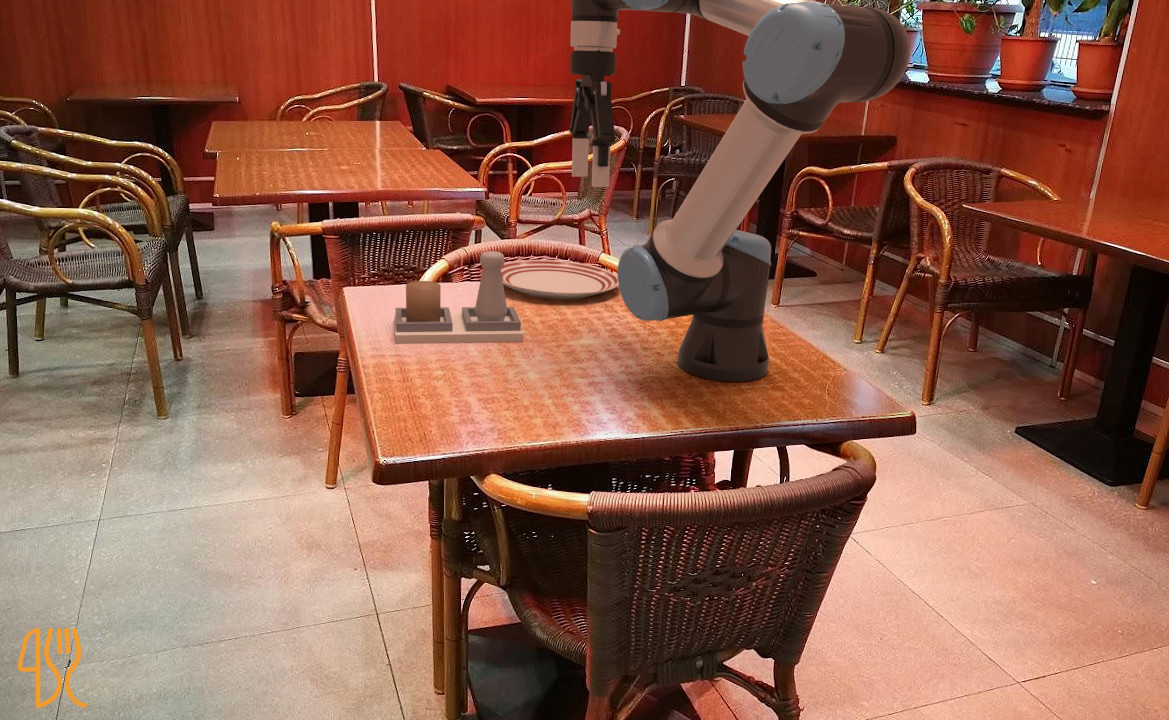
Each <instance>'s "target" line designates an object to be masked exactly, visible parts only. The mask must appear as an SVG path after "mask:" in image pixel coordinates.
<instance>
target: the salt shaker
mask: <svg viewBox="0 0 1169 720" xmlns="http://www.w3.org/2000/svg"><path fill="white" fill-rule="evenodd" d="M505 259H506V258H505V255H504V254H503V253H502V252H499V251H495V250H491V251H490V250H489V251H483V252H482V253H481V254H480V257H479V264H480V266H481V267H482V271H481V276H480V282H479V286H478V287H479V288H478V291H477V298H476V302H475V306H474V307H475V313H476V316H477V318H478V321H504V319H505V316H506V314H507V307H508V306H507V300H506V293H505V289H504V285H503V281H502V275H501V267H502V266H503V265H504V263H505Z"/></svg>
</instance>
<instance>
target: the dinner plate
mask: <svg viewBox="0 0 1169 720" xmlns="http://www.w3.org/2000/svg"><path fill="white" fill-rule="evenodd" d="M501 275H502V281H503V286H505V287H508V288H509V289H512V290H514V291H517V292H519V293H521V294H523V295H527V296H530V297H534V298H539V297H540V299H548V300H578V299H584V298H588V297H591V296H596V295H600V294H602V293H605V292H608V291H611V290H613V289H616V288H617V287H619V282H618V274H615V273H614V272H611V271H609V270H608V269H604V268H602V267H599V266H595V265H590V264H586V263H581V262H575V261H566V260H557V259H556V260H555V259H553V260H552V259H526V260H524V259H523V260H513V261H508V262H504V265H503V266H502V267H501Z"/></svg>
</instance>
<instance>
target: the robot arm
mask: <svg viewBox="0 0 1169 720" xmlns="http://www.w3.org/2000/svg"><path fill="white" fill-rule="evenodd" d="M619 11H644V12H645V11H646V12H658V13H659V12H660V13H679V14H685V15H686V14H688V15H692V16H696V17H699V18H701V19H703V20H706V21H710V22H712V23H715V24H718V25H719V26H722V27H724V28H727V29H730V30H733V31H736V32H737V33H740V34H742V35H745V36H747V37H748V38H747V39H746V42H745V45H744V49H743V55H745V56H746V59H745V61H743V62H742V70H743V71H742V72H743V77H744V80H743V82H742V89H743V93H744V97H745V100H744V102H743V104H742V105H741V107H740V108H739V110H738V111H737V113H736V115H735V117H734V118H733V120H732V122H731V124H730V125H729V127H728V129H726V132H725V134H724V135H723V136H722V138H721V140H720V142H719V143H718V144H717V145H716V148H715V150H714V151H713V152H712V154H711V156H710V158H709V160H708V161H707V162H706V164H705V165H704V168H703V169H702V171H701V173H700V174H699V176H698V177H697V179H696V181H695V183H693V186H692V187H691V189H690V190H689V191H688V194H687V195H686V197H685V198H684V200H683V202H682V204H681V205H680V207H679V208H678V209H677V211H676V213H675V215H674V216H673V218H672V219H666V220H663V221H661V222H659V223H658V224H657V226H656V227H655V228H654V230H653V232H652V233H651V235H650V237H649V238H648V240H647V241H646V243H644V244H643V245H639V244H637V245H636V244H635V245H633V246H631V247H628V248H627V249H625V250H624V251H623V252H622V254H621V256H620V258H619V261H618V265H617V276H618V282H619V285H618V288H619V293H620V295H621V299H622V301H623V303H624V304H625V307H626V308H627V309H628V311H629V312H630V313H631V314H632V315H633V316H634V317H635V318H637V319H638V320H642V321H644V322H653V321H658V322H663V321H665V320H669V319H670V320H671V319H675V318H680V317H687V316H692V318H691V322H690V323H689V326H688V328H687V330H686V333H685V335H684V337H683V338H682V339H683V340H682V342H681V343H680V346H679V349H678V357H677V364H678V366H679V367H680V368H681V369H682V370H684V371H686V372H687V373H690V374H691V375H695V376H697V377H701V378H704V379H709V380H712V381H713V380H714V381H721V382H723V381H724V382H747V381H754V380H758V379H760V378H763V377H765V376H766V375H767V373H768V372H769V364H770V363H769V362H770V357H769V356H770V355H769V351H768V346H767V342H766V337H765V332H764V326H763V324H764V316H765V308H766V301H767V295H768V287H769V286H768V285H769V277H770V271H771V266H772V262H771V255H772V245H771V242H769V240H768V239H767V238H765V237H764V236H762V235H759V234H756V233H752V232H747V231H743V230H739V229H737V228H738V227H739V225H740V224H741V223H742V222H743V220H744V219H745V218H746V216H747V214H748V213H749V212H750V210H751V208H752V207H753V206H754V204H755V203H756V201H757V199H758V198H760V197H759V196H760V195H761V194H762V193H763V191H764V189H765V188H766V187H767V185H768V183H770V181H771V180H772V178H773V176H774V175H775V173H776V172H777V171H778V169H779V168H780V166H781V165H782V163H783V162H784V161H785V159H786V157H787V156H788V154H789V153H790V152H791V150H793V147H794V146H795V144H796V143H797V142H798V140H799V139H800V137H801V135H805V134H812V133H813V134H814V133H816V132H817V131H818V130H820V129H821V127H822V126H823V124H824V123H825V121H826V120H827V119H828V118H829V116H830V114H831V113H832V112H833V110H834V109H835V108H836V106H837V105H838V104H839V103H866V102H869V101H873V100H876V99H878V98H881V97H882V96H884V95H886V94H887V93H888V92H890V91H892V89H894V88H895V87H896V86H897V84H899V82H901V79H902V78H903V77H904V74H905V72H906V70H907V67H908V66H909V65H908V64H909V61H910V57H911V45H910V38H909V36H908V32H907V29H905V27H904V25H903V23H902V22H901V21H900V20H899V19H898V18H897V17H896V16H895V15H893V14H892V13H890V12H887V11H885V10H883V9H880V8H877V7H876V8H875V7H869V6H859V5H856V4H853V3H846V4H843V5H840V4H839V5H837V4H827V3H825V2H824V3H823V2H821V1H817V0H571V21H570V45H569V46H570V47H572V48H573V50H572V51H571V53H570V57H569V58H570V61H569V62H570V63H569V65H570V66H569V67H570V69H569V72H570V74H571V75H576V76H577V75H578V76H580V75H581V79H575V81H574V95H573V103H572V111H571V115H570V117H571V118H570V124H569V131H568V132H569V133H570V134H571V137H572V149H571V151H572V154H571V157H572V158H571V159H572V160H571V177H573V178H575V177H578V178H579V177H580V178H581V177H584V178H585V177H589V173H588V172H589V149H590V148H589V145H590V146H591V147H592V168H591V170H592V171H591V187H592V188H610V171H611V170H610V168H611V165H610V164H611V146H612V145H613V144H614V143H615V142H616V132H615V124H614V123H615V122H614V114H613V113H614V112H613V102H612V100H613V99H612V82H611V81H605V76H610V77H611V76H615V74H616V72H617V54H616V52H613V51H614V49H616V48H617V45H618V43H617V40H618V36H619V35H620V34H621V30H620V29H619V28H618V21H619ZM590 125H591V126H592V133H593V138H594V139H592V141H591V143H590V142H589V141H590V139H589V138H592V135H591V132H590V131H589V129H590Z"/></svg>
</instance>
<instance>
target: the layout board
mask: <svg viewBox="0 0 1169 720" xmlns="http://www.w3.org/2000/svg"><path fill="white" fill-rule="evenodd" d="M393 319H394V334H395V335H394V336H395V337H394V339H395V344H398V345H399V344H449V343H453V344H454V343H458V344H459V343H461V344H462V343H515V342H516V343H517V342H518V343H520V342H521V343H523V341H524V333H523V331H522V330H523V329H522V327H521V326H522V322H521V320H520V317H519V315H518V313H517V310H516V309H515V306H507V314H506V316H505V319H504V321H478V318H477V316H476V313H475V306H471V307H470V306H468V307H467V306H463V307H461V311H460V312H454V311H452V312H451V311H450V307H449V306H448V307H446V306H445V307H441V284H440V283H438V282H435V281H429V280H415V281H409V282H407V283H406V284H405V307H395V312H394V318H393Z"/></svg>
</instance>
